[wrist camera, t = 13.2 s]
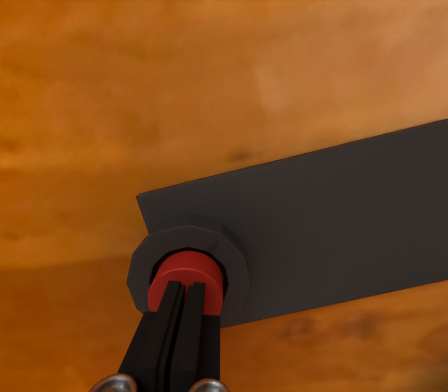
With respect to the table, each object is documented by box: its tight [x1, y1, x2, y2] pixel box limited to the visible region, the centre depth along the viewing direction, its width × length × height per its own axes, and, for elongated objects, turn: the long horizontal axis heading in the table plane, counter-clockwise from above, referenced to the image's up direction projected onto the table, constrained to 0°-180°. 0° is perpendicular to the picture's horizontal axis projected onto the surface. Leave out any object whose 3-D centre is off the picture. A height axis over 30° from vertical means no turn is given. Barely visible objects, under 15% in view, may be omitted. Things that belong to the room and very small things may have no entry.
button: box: [148, 251, 223, 316], centre depth 11 cm, size 4×4×2 cm
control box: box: [127, 119, 448, 328], centre depth 13 cm, size 19×10×2 cm, turn 104°
